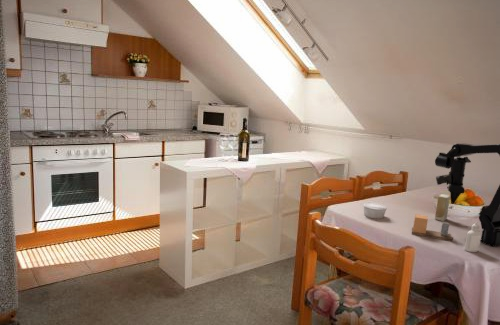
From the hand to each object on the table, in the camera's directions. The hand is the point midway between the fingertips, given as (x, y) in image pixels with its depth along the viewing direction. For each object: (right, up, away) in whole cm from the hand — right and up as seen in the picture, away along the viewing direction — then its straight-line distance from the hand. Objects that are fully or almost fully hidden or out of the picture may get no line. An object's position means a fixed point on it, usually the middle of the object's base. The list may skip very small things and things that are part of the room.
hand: (452, 203), depth 188 cm
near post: (-9, -14, -11) cm, 20 cm away
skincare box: (+2, -10, +16) cm, 19 cm away
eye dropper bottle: (-5, -17, -25) cm, 30 cm away
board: (-14, -13, -9) cm, 21 cm away
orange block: (-18, -11, -7) cm, 23 cm away
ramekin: (-32, -8, +15) cm, 36 cm away
